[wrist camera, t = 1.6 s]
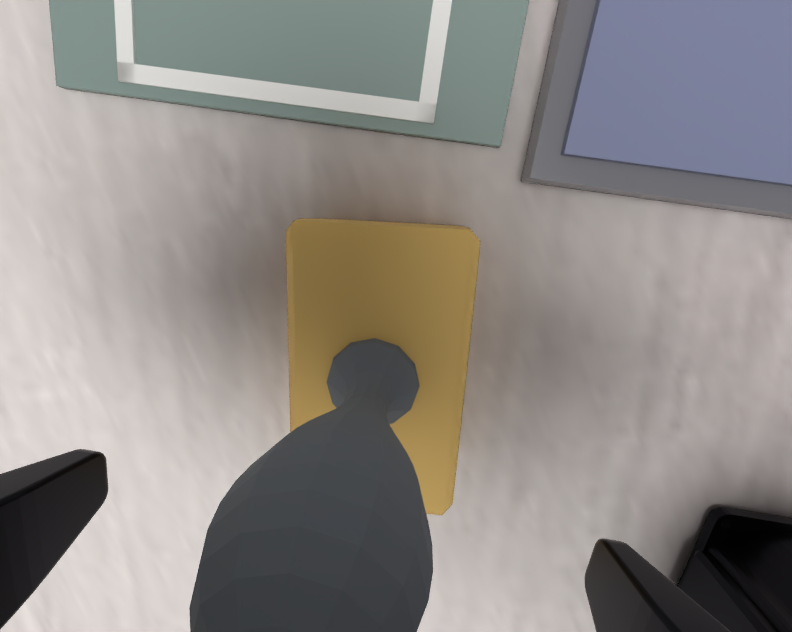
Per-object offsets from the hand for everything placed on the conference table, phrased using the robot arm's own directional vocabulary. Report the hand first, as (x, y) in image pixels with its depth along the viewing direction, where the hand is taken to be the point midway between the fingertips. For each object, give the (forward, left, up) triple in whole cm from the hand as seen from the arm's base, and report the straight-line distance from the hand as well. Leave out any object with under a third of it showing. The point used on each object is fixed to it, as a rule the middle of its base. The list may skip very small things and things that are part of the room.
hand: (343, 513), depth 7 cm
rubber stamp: (0, 0, -9) cm, 9 cm away
